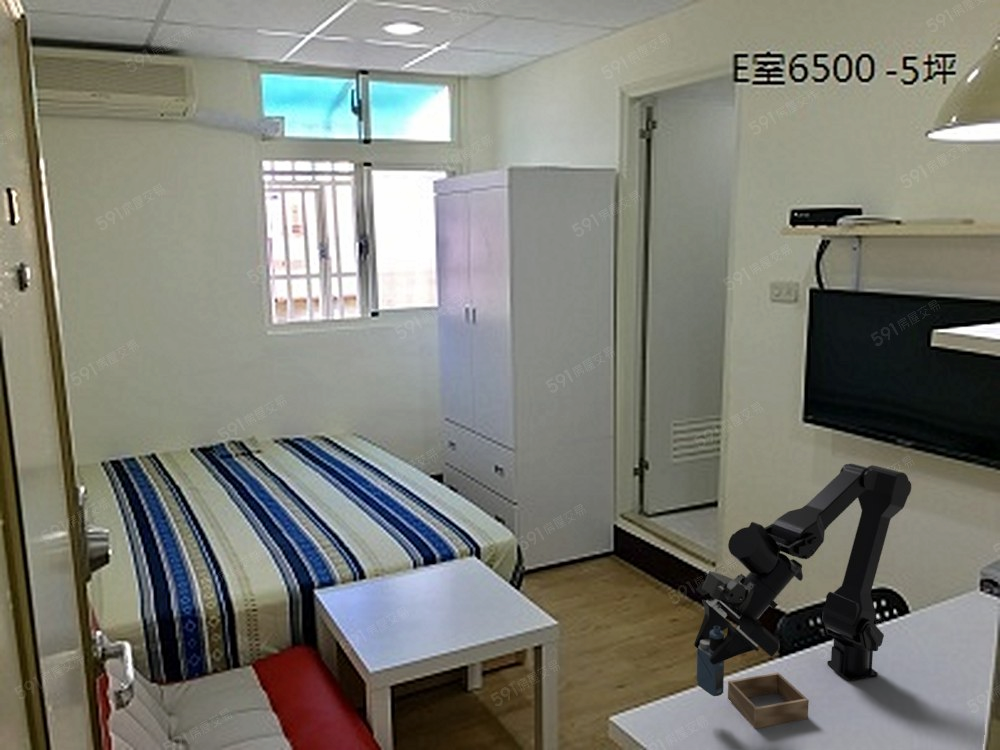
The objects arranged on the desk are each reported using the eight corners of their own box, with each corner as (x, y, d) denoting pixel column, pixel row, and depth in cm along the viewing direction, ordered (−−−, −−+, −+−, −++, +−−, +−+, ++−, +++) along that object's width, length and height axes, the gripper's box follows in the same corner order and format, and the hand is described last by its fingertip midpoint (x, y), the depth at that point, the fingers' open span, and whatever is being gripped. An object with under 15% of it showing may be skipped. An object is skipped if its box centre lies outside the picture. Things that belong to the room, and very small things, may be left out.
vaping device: (715, 698, 131) (716, 632, 129) (693, 683, 136) (694, 619, 133) (726, 694, 132) (728, 628, 130) (705, 679, 137) (706, 615, 135)
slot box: (777, 690, 143) (778, 672, 142) (807, 718, 134) (808, 699, 133) (727, 699, 140) (728, 681, 140) (755, 728, 132) (755, 709, 131)
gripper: (705, 537, 140) (648, 603, 139) (764, 579, 122) (698, 656, 121) (745, 572, 143) (689, 638, 142) (807, 619, 125) (744, 694, 124)
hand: (703, 654), depth 132 cm, fingers closed on vaping device, 5 cm apart
